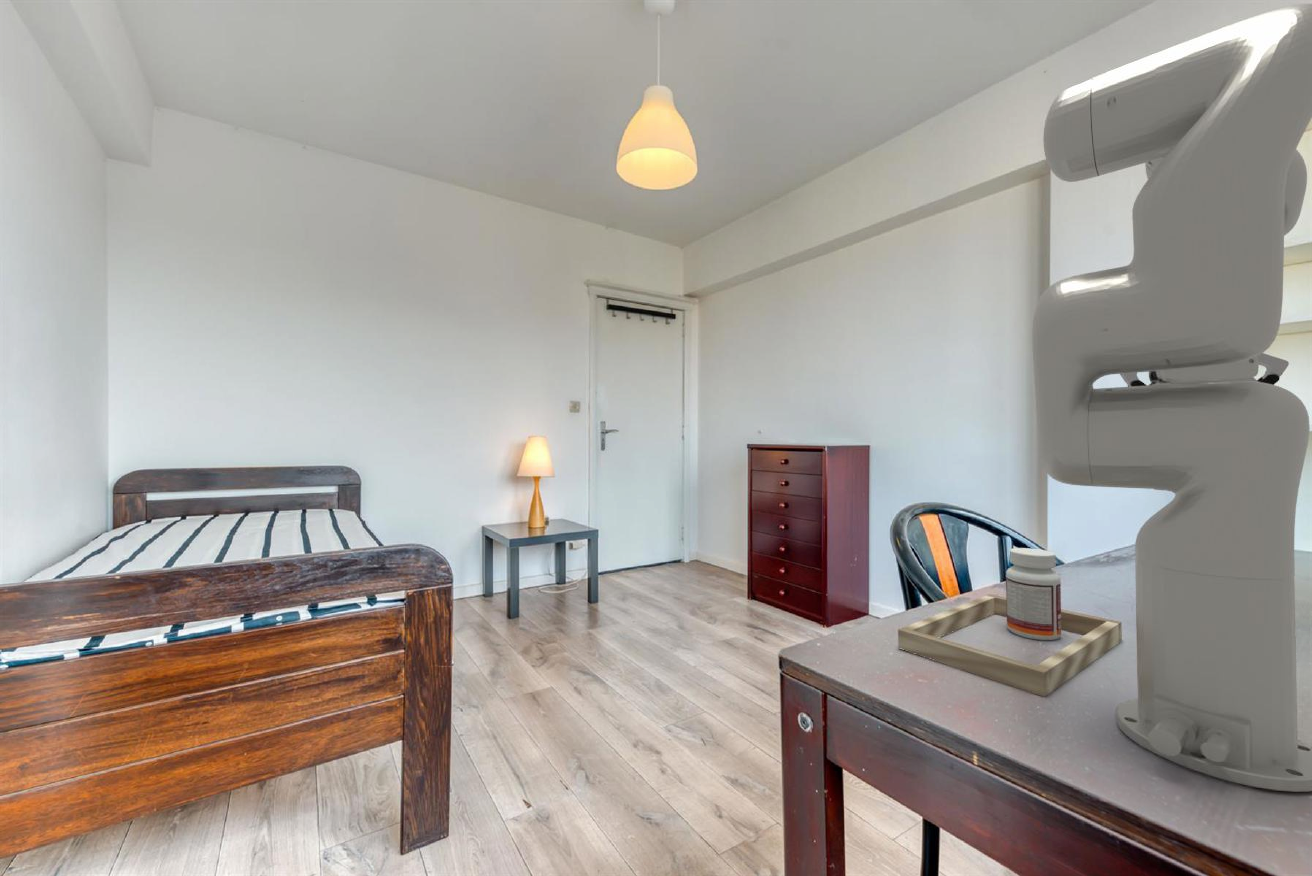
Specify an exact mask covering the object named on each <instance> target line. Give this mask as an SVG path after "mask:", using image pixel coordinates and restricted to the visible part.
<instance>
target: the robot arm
mask: <svg viewBox="0 0 1312 876" xmlns="http://www.w3.org/2000/svg"><path fill="white" fill-rule="evenodd" d="M1046 114H1047V116H1046V119H1045V123H1044V127H1043V139H1042V140H1043V150H1044V156H1045V159H1046V163H1047V165H1048V167H1049V169H1050V171H1051V172H1052V173H1053V174H1054V176H1056V177H1057V178H1058V179H1059V180H1061V181H1064V182H1068V183H1073V182H1074V183H1075V182H1076V183H1077V182H1079V181H1084V180H1088V179H1093V178H1096V177H1100V176H1104V175H1107V174H1110V173H1114V172H1117V171H1120V170H1124V169H1125V170H1126V169H1128V168H1131V167H1134V166H1135V167H1136V166H1138V165H1142V164H1144V165H1145V166H1144V167H1145V175H1146V178H1147V180H1146V182H1145V183H1144V185H1143V186H1142V188H1141V190H1140V191H1139V192H1138V194H1137V196H1136V198H1135V200H1134V203H1133V207H1132V211H1131V212H1132V215H1131V217H1132V233H1133V234H1132V237H1133V238H1132V239H1133V256H1132V260H1131V262H1130V263H1129V264H1127V265H1124V266H1119V267H1114V268H1108V269H1103V270H1097V271H1093V272H1092V271H1091V272H1087V273H1081V274H1078V275H1073V276H1070V277H1066V278H1063V279H1060V280H1058V281H1056V282H1054V283H1053V284H1051V285H1049V287H1047V288H1046V289H1045V290H1044V291H1043V292H1042V294H1041V295H1040V297H1039V299H1038V300H1037V303H1036V307H1035V308H1034V309H1035V310H1034V314H1033V320H1032V336H1031V337H1032V339H1031V340H1032V361H1033V374H1034V376H1033V377H1034V378H1033V379H1034V391H1035V392H1034V393H1035V395H1034V396H1035V405H1036V406H1035V408H1036V424H1037V425H1036V426H1037V439H1038V450H1039V455H1040V459H1041V463H1042V466H1043V469H1044V470H1045V472H1046V473H1047V475H1048V476H1049V477H1051V479H1053V480H1054V481H1057V482H1059V483H1061V484H1066V485H1070V486H1080V487H1098V488H1099V487H1100V488H1101V487H1102V488H1123V489H1125V488H1126V489H1127V488H1128V489H1146V490H1147V489H1148V490H1151V489H1152V490H1156V491H1166V492H1171V493H1173V494H1175V496H1174V497H1173V498H1172V500H1171V501H1170V502H1168V504H1166V505H1165V506H1163V507H1162V508H1161V509H1160V510H1158V511H1157V512H1155V513H1154V514H1152V516H1150V517H1149V518H1148V519H1147V520H1146V521H1145V522H1144V523H1143V524H1142V526H1141V527H1140V529H1139V531H1138V533H1137V534H1136V539H1135V543H1134V544H1135V545H1134V547H1135V548H1134V551H1135V552H1134V555H1135V557H1134V559H1135V560H1134V563H1135V569H1134V570H1135V612H1136V613H1135V616H1136V617H1135V619H1136V620H1135V621H1136V623H1135V625H1136V626H1135V627H1136V628H1135V629H1136V676H1137V677H1136V678H1137V679H1136V680H1137V681H1136V682H1137V699H1135V698H1134V699H1130V700H1126V701H1124V702H1121V703H1119V705H1118V706H1117V707H1116V709H1115V719H1116V724H1117V725H1118V727H1119V728H1120V730H1121V731H1122V732H1123V733H1124V734H1125V735H1126V736H1128V737H1129V739H1131V740H1132V741H1134V742H1135V743H1136V744H1138V745H1140V747H1143V748H1144V749H1147V750H1148V751H1150V752H1151V753H1153V754H1155V755H1158V756H1160V757H1162V758H1163V759H1165V760H1168V761H1170V762H1173V763H1175V764H1176V765H1180V766H1183V767H1185V768H1186V769H1187V768H1188V769H1190V770H1193V771H1196V772H1198V773H1202V774H1204V775H1208V776H1210V777H1213V778H1217V779H1220V780H1225V781H1227V782H1231V783H1236V784H1239V785H1244V786H1249V787H1253V788H1257V789H1264V790H1270V791H1277V792H1278V791H1279V792H1291V793H1293V792H1294V793H1299V792H1312V747H1310V745H1308V744H1306V743H1305V742H1302V740H1299V739H1298V737H1299V735H1298V734H1299V733H1298V698H1297V697H1298V696H1297V695H1298V692H1297V689H1298V688H1297V645H1296V643H1297V642H1296V638H1297V637H1296V602H1295V601H1296V599H1295V598H1296V595H1295V594H1296V593H1295V590H1296V588H1295V587H1296V586H1295V574H1296V572H1295V532H1296V531H1295V528H1296V527H1295V525H1296V512H1297V504H1298V503H1297V502H1298V496H1299V488H1300V483H1301V479H1302V474H1303V468H1304V463H1305V459H1306V455H1307V449H1308V445H1309V440H1310V439H1309V438H1310V429H1311V428H1310V417H1309V413H1308V410H1307V408H1306V406H1305V404H1304V403H1303V401H1302V400H1301V399H1300V398H1299V397H1298V396H1297V395H1296V394H1295V393H1294V392H1292V391H1290V390H1288V389H1286V388H1283V387H1281V386H1279V385H1276V383H1278V382H1279V381H1280V377H1281V376H1282V375H1283V373H1284V372H1285V371H1286V369H1287V368H1288V367H1289V365H1290V363H1289V361H1288V360H1285V359H1283V358H1280V357H1276V356H1273V355H1270V354H1266V353H1265V352H1266V351H1267V350H1268V349H1270V347H1271V346H1272V345H1273V343H1274V342H1275V340H1276V337H1277V335H1278V333H1279V330H1280V324H1281V319H1282V310H1283V309H1282V308H1283V299H1284V297H1283V296H1284V294H1283V292H1284V255H1285V253H1284V252H1285V236H1286V235H1288V234H1289V233H1290V232H1291V231H1292V230H1293V229H1294V228H1295V226H1296V225H1297V223H1298V221H1299V218H1300V217H1301V212H1302V209H1303V204H1304V199H1305V195H1306V192H1307V184H1308V172H1307V169H1308V168H1307V166H1306V163H1305V160H1304V158H1303V156H1302V155H1301V153H1300V151H1299V150H1298V149H1297V148H1298V146H1299V143H1300V141H1301V139H1302V137H1303V135H1304V134H1305V132H1306V130H1307V129H1308V126H1309V124H1310V122H1311V120H1312V3H1299V4H1293V5H1289V6H1285V7H1281V8H1277V9H1274V10H1269V11H1266V12H1262V13H1259V14H1257V15H1254V16H1251V17H1249V18H1244V19H1243V20H1240V21H1236V22H1234V23H1232V24H1229V25H1225V26H1224V27H1221V28H1218V29H1216V30H1213V31H1209V32H1207V33H1204V34H1203V35H1200V36H1196V37H1195V38H1191V39H1190V40H1189V39H1188V40H1185V41H1183V42H1181V43H1179V44H1176V45H1173V46H1171V47H1167V48H1165V49H1163V50H1160V51H1157V52H1156V53H1153V54H1150V55H1148V56H1147V55H1146V56H1144V57H1143V58H1140V59H1137V60H1135V61H1132V62H1130V63H1127V64H1124V65H1122V66H1119V67H1117V68H1114V69H1111V70H1108V71H1106V72H1104V73H1101V74H1099V75H1095V76H1094V77H1091V78H1090V79H1088V80H1085V81H1083V82H1080V83H1078V84H1075V85H1073V86H1070V87H1069V88H1066V89H1064V90H1063V91H1061V92H1060V93H1059V94H1058V95H1057V96H1056V97H1055V99H1054V100H1053V102H1052V103H1051V105H1050V107H1049V110H1048V112H1047V113H1046ZM1259 366H1261V367H1264V368H1265V369H1266V370H1265V372H1264V374H1263V376H1262V375H1261V377H1259V378H1257V379H1256V378H1255V377H1256V376H1258V373H1259ZM1146 372H1147V373H1148V377H1149V381H1150V383H1149V384H1148V385H1147V384H1146V383H1145V382H1143V381H1142V380H1140V379H1139V377H1138V373H1146ZM1111 375H1119V376H1120V377H1121V378H1122V379H1123V381H1124V382H1125V384H1126V385H1127V386H1120V387H1119V386H1117V387H1116V386H1115V387H1105V388H1103V387H1102V388H1094V383H1095V382H1096V381H1097V380H1099V379H1100V378H1102V377H1105V376H1111Z"/></svg>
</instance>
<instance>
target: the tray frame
mask: <svg viewBox="0 0 1312 876" xmlns="http://www.w3.org/2000/svg"><path fill="white" fill-rule="evenodd" d="M1006 600H1007V599H1006V596H999V595H995V594H986V595H984V596H982V597H978V598H977V599H974V600H971V601H969V602H966V603H963V604H961V605H959V606H955V607H953V608H951V609H947V610H945V611H942V612H939V613H937V614H935V615H932V616H928V617H927V618H924V619H922V620H919V621H916V622H914V623H911V624H909V625H905V626H904V627H901V628H898V629H897V639H898V640H897V644H898V645H897V647H899V648H902V649H904V650H907V651H909V652H912V653H916V654H918V655H922V656H925V657H927V658H926V659H928V658H931V659H934V660H935V661H934V660H933V661H934V662H937V661H939V662H938V663H940V662H941V663H940V664H943V663H945V664H944V665H946V664H947V665H946V666H949V667H952V666H953V667H952V668H955V669H958V670H961V671H965V672H967V673H970V674H974V675H977V676H979V677H983V678H986V679H989V680H992V681H994V682H999V683H1000V684H1005V685H1007V686H1010V687H1013V688H1016V689H1020V690H1023V691H1026V692H1029V693H1032V694H1035V695H1038V696H1041V697H1044V698H1045V697H1046V696H1048V695H1050V694H1051V693H1052V692H1054V691H1055V690H1056V689H1057V688H1059V687H1060V686H1062V685H1063V684H1065V683H1066V682H1067V681H1069V680H1070V679H1072V678H1073V677H1074V676H1076V675H1077V674H1079V673H1080V672H1081V671H1083V670H1084V669H1085V668H1086V667H1088V666H1090V665H1091V664H1092V663H1094V662H1095V661H1096V660H1097V659H1099V658H1100V657H1102V656H1103V655H1105V654H1106V653H1107V652H1109V651H1110V650H1111V649H1113V648H1115V646H1117V645H1118V644H1119V643H1121V642H1122V641H1123V639H1122V636H1123V635H1122V632H1123V631H1122V628H1123V626H1122V621H1119V620H1114V619H1109V618H1105V617H1099V616H1095V615H1090V614H1085V613H1079V612H1075V611H1071V610H1067V609H1066V610H1065V609H1062V608H1061V631H1062V630H1063V631H1067V632H1071V633H1075V634H1079V635H1083V636H1081V637H1080V638H1078V639H1076V640H1075V641H1073V642H1072V643H1070V644H1068V645H1067V646H1065V647H1063V648H1061V650H1059V651H1057V652H1056V653H1054V654H1052V655H1050V656H1049V657H1048V658H1046V659H1045V660H1042V661H1041V662H1040V663H1038V664H1037V665H1034V664H1029V663H1027V662H1024V661H1019V660H1016V659H1013V658H1010V657H1006V656H1002V655H999V654H996V653H992V652H990V651H986V650H982V649H978V648H975V647H972V646H967V645H965V644H962V643H957V642H955V641H951V640H948V639H944V638H942V637H940V636H943V635H945V634H947V635H949V634H948V633H950V634H952V633H953V632H952V631H954V632H956V631H959V630H961V629H963V628H965V626H966V627H968V626H970V625H972V624H974V623H977V622H979V621H982V620H984V619H985V617H986V618H989V617H990V616H989V615H991V616H993V615H999V616H1002V615H1003V617H1006V618H1007V606H1006ZM994 613H995V614H994ZM988 616H989V617H988ZM983 618H984V619H983ZM981 619H982V620H981ZM978 620H979V621H978ZM967 625H968V626H967ZM960 628H961V629H960ZM958 629H959V630H958ZM951 632H952V633H951ZM945 636H946V635H945ZM938 637H940V638H938ZM943 637H944V636H943ZM909 652H908V653H909ZM912 653H911V654H912ZM918 655H917V656H918ZM925 657H924V658H925ZM931 659H930V660H931Z"/></svg>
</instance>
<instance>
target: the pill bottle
mask: <svg viewBox="0 0 1312 876" xmlns="http://www.w3.org/2000/svg"><path fill="white" fill-rule="evenodd" d="M1009 562H1010V564H1012V566H1010V567H1009V568H1007V570H1006V571H1005V573H1006V574H1005V591H1006V592H1005V598H1006V599H1007V600H1006V606H1007V617H1006V627H1007V629H1008V630H1009V631H1010V632H1011V633H1013V634H1015V635H1017V636H1019V637H1022V638H1025V639H1030V640H1036V641H1037V640H1038V641H1055V640H1059V639H1060V638H1061V636H1062V629H1061V609H1062V601H1061V599H1062V592H1061V591H1062V589H1061V586H1062V585H1061V583H1062V582H1061V578H1060V575H1059V573H1057V572H1056V571H1055V570H1053V569H1054V568H1056V566H1057V565H1056V563H1057V562H1056V554H1055V553H1054V552H1052V551H1049V550H1045V549H1038V548H1032V547H1031V548H1029V547H1027V548H1026V547H1016V548H1015V547H1013V548H1011V549H1010V550H1009Z"/></svg>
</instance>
